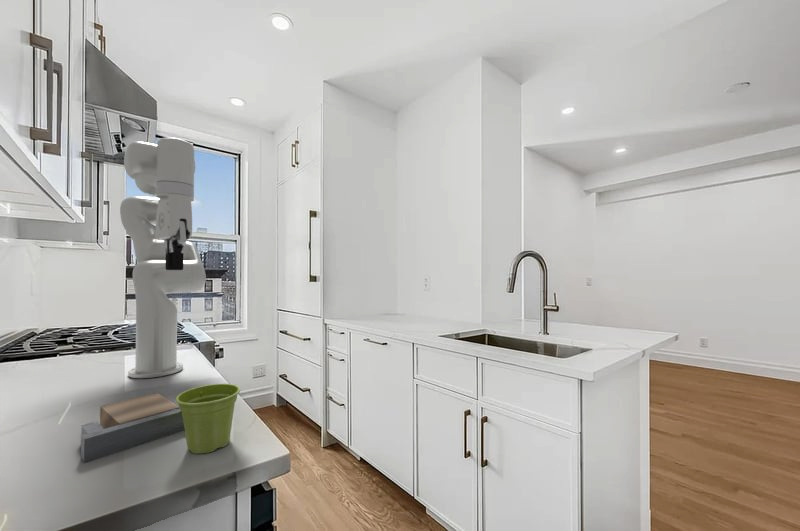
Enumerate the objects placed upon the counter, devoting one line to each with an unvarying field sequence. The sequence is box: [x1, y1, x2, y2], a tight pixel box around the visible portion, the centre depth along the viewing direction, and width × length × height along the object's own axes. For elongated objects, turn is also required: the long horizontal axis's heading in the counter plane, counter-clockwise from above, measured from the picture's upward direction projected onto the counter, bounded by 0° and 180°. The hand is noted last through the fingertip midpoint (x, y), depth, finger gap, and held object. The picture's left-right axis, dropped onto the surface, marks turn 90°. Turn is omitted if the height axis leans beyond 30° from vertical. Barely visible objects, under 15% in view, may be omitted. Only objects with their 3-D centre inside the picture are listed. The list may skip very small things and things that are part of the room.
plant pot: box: [175, 383, 241, 455], centre depth 58 cm, size 9×9×9 cm
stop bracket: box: [80, 408, 185, 463], centre depth 63 cm, size 8×20×4 cm, turn 142°
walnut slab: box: [99, 392, 180, 429], centre depth 64 cm, size 12×9×4 cm
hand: (174, 269), depth 82 cm, fingers closed
